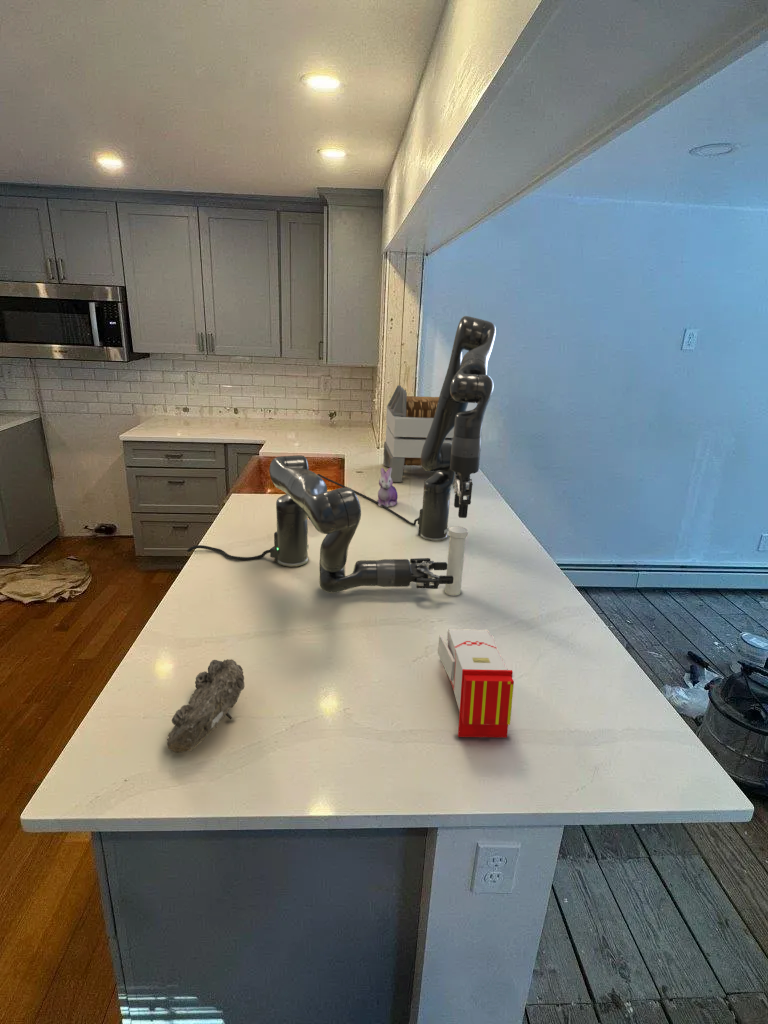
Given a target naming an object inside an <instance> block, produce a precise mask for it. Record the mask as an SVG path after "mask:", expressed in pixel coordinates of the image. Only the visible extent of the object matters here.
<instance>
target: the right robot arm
mask: <svg viewBox="0 0 768 1024" xmlns="http://www.w3.org/2000/svg"><path fill="white" fill-rule="evenodd" d="M496 328H497V327H496V325H495V324H494V323H493V322H491V321H489V320H486V319H482V318H477V317H474V316H470V315H469V316H468V315H463V316H462V317H461V318H460V320H459V322H458V324H457V327H456V331H455V336H454V340H453V345H452V349H451V353H450V358H449V363H448V367H447V370H446V372H445V373H446V374H445V377H444V379H443V383H442V386H441V389H440V394H439V396H438V397H439V400H438V404H437V408H436V412H435V415H434V418H433V422H432V425H431V428H430V430H429V433H428V435H427V438H426V441H425V443H424V446H423V448H422V452H421V465H422V466H421V467H422V469H423V470H424V471H426V472H428V473H429V472H430V473H431V472H432V473H433V472H434V473H433V474H432V475H431V476H429V477H428V478H426V479H425V480H424V482H423V493H422V496H423V497H422V506H421V508H420V509H419V516H418V517H417V518H415V519H414V520H413V522H411V521H409V520H408V519H406V518H405V517H403V516H402V515H400V514H399V513H397V512H396V511H394V510H392V509H391V508H389V507H386V506H384V505H381V506H380V508H381V507H382V508H383V509H385V510H387V511H388V512H390V513H391V514H393V515H394V516H395V517H398V518H399V519H401V520H403V521H404V522H405V523H407V524H408V525H411V526H416V525H418V530H417V535H418V536H420V538H421V539H424V540H426V541H432V542H440V541H444V540H446V539H447V538H448V533H449V528H450V527H448V525H449V517H450V516H449V514H450V504H451V494H452V493H451V491H452V489H453V491H454V492H453V493H454V499H453V500H454V502H453V506H454V508H456V509H458V514H457V515H458V518H460V519H467V517H468V510H469V505H471V503H472V492H473V486H474V483H473V480H472V478H471V475H472V474H476V473H478V472H479V470H480V462H481V461H480V460H481V451H482V431H483V423H484V418H485V413H486V410H487V408H488V405H489V403H490V400H491V398H492V395H493V392H494V388H495V387H494V380H493V379H492V377H491V376H490V375H488V365H489V364H488V363H489V359H490V358H491V353H492V351H493V347H494V344H495V339H496V333H497V330H496ZM463 351H467V352H465V354H464V355H463ZM469 404H476V406H475V407H474V408H473V409H469V410H467V408H468V405H469ZM453 428H454V436H453V441H452V444H451V443H443V442H444V439H445V438H446V436H447V434H448V433H449V432H450V431H451V430H452V429H453ZM454 473H455V479H454ZM317 475H318V476H320V477H321V478H322V479H323V480H326V481H327V482H330V483H332V484H335V485H337V486H339V487H340V488H344V487H347V486H345V485H343V484H341V483H339V482H338V481H337V482H336V481H334V480H333V479H330V478H328V477H326V476H324V475H322V474H321V473H317ZM453 481H454V483H453ZM452 486H453V488H452ZM352 490H353V491H354V492H355V494H356V495H358V496H361V497H362V498H365V499H366V500H369V501H371V502H372V503H374V504H376V505H378V504H379V503H378V502H377V501H378V500H377V501H376V500H375V499H373V498H371V497H370V496H367V495H365V494H364V493H362V492H359V491H357V490H354V489H352ZM464 497H466V499H464Z"/></svg>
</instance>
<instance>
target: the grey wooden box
mask: <svg viewBox="0 0 768 1024" xmlns="http://www.w3.org/2000/svg"><path fill="white" fill-rule="evenodd" d="M407 394H408V393H407V390H406V389H404V388H403V387H402V385H399V384H398V385H397V386H396V388H395V390H394V392H393V394H392V395H391V398H390V400H389V402H388V404H387V405H386V413H385V414H386V415H385V423H386V428H385V438H384V442H383V466H384V467H388V468H390V467H391V468H392V471H391V475H390V476H391V479H392V481H393V483H402V482H403V475H404V469H405V466H406V467H407V466H411V467H412V466H413V467H415V466H416V467H417V466H418V467H422V465H421V452H422V448H423V446H424V443H425V441H426V438H427V435H428V433H429V430H430V428H431V425H432V422H433V418H434V415H435V412H436V408H437V404H438V400H439V396H415V395H414V396H413V395H412V396H411V395H407ZM453 436H454V428H453V429H452V430H451V431H450V432H449V433H448V434H447V436H446V438H445V439H444V442H443V443H451V444H452V441H453ZM454 479H455V473H454ZM453 484H454V481H453Z"/></svg>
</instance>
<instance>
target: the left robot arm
mask: <svg viewBox="0 0 768 1024" xmlns="http://www.w3.org/2000/svg"><path fill="white" fill-rule="evenodd" d="M309 466H310V465H309V461H308V459H307V457H305V456H304V455H301V454H300V455H281V456H276V457H274V458H272V460H271V462H270V463H269V467H268V468H269V469H268V471H269V477H270V480H271V483H272V484H273V486H275V488H276V489H278V490H280V491H282V492H284V493H285V494H283V495H282V496H279V497H278V498H277V499H276V502H275V508H276V509H275V510H276V511H275V513H276V531H275V532H274V533H273V542H274V543H273V546H272V547H271V548H269V549H266V550H264V551H263V552H262V553H261V554H259V555H255V556H236V555H231V554H228V553H227V552H226V551H224V550H223V549H221V548H217V547H212V546H208V545H201V544H198V545H197V544H196V545H193V546H191V547H189V548H188V549H187V550H186V552H187V553H190V552H192V551H193V550H197V549H203V550H209V551H212V552H217V553H219V554H221V555H223V557H226V558H227V559H229V560H230V559H231V560H236V561H252V560H259V559H262V558H264V557H265V556H266V555H267V554H270V555H269V556H270V558H273V559H274V562H275V563H277V564H279V565H280V566H282V567H286V568H287V567H288V568H296V567H300V566H304V565H306V564H307V563H308V562H309V552H308V550H309V543H308V541H309V538H308V537H309V536H308V535H309V534H308V532H309V531H308V530H309V529H308V528H309V527H308V521H310V522H311V524H312V526H313V527H314V528H315V530H316V531H318V532H319V533H320V534H322V535H325V536H324V538H323V539H322V540H321V541H322V542H321V544H320V548H319V567H318V568H319V569H318V570H319V572H318V573H319V579H318V580H319V581H318V583H319V587H320V589H321V590H322V591H324V592H326V593H330V594H334V593H339V592H344V591H346V590H350V589H354V588H359V587H383V588H391V587H392V588H394V587H395V588H396V587H397V588H398V587H399V588H400V587H401V588H402V587H403V588H404V587H409V586H410V585H411V583H415V588H416V589H425V590H426V589H427V590H428V589H429V590H430V589H432V590H433V589H435V590H437V589H439V586H440V585H446V584H452V583H453V579H454V578H453V576H446V575H437V574H434V573H433V571H447V561H434V560H431V558H430V557H418V558H417V557H415V558H409V559H408V558H404V559H403V558H399V559H398V558H393V559H391V558H389V559H388V558H387V559H376V560H375V559H373V560H372V559H371V560H370V559H361V560H357V561H355V563H354V565H353V571H352V573H350V574H348V575H346V563H347V562H348V553H349V552H348V551H349V547H350V544H351V543H352V540H353V537H354V535H355V534H356V531H357V529H358V527H359V525H360V522H361V517H362V508H361V503H360V500H359V497H358V496H357V495H358V494H356V493H355V492H354V491H353V490H354V489H352V487H351V488H350V487H349V486H346V487H344V488H343V487H339V488H335V489H332V490H329V491H328V486H327V484H326V481H325V479H324V478H322V477H320V476H318V473H316V472H314V471H312V470H311V469H310V467H309ZM308 519H309V520H308Z"/></svg>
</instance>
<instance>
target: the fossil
mask: <svg viewBox="0 0 768 1024" xmlns="http://www.w3.org/2000/svg"><path fill="white" fill-rule="evenodd" d="M243 670H244V669H243V667H242V665H240V664H237V662H236V661H235V660H234V659H232V658H231V659H227V658H226V659H224V660H223V661H222V660H217V659H212V660H211V661H210V663H209V665H208V666H207V671H201V672H199V673H198V674H197V675H196V676H195V680H194V684H195V685H194V687H195V689H194V690H193V693H192V694H191V697H190V698H189V700H188V704H184V705H182V706H181V707H180V709H177V710H176V711H175V713H174V715H173V716H172V718H171V723H172V724H173V727H172V730H171V731H170V732H168V734H167V738H166V741H167V742H166V745H167V749H168V750H169V751H173V752H174V753H176V754H178V753H182V752H188V751H189V752H192V751H193V750H195V748H196V747H197V746H199V744H200V743H201V742H203V741H204V740H205V739H206V738H207V737H208V736H209V735H210V734H211V733H212V732H214V730H215V729H217V727H218V726H219V724H220V722H221V721H222V720H223V719H224V718H225V716H226V717H227V719H229V720H233V717H232V715H230V714H229V710H230V709H231V708H234V706H235V704H236V703H237V702H238V699H239V697H240V695H241V693H242V691H243V690H245V689H244V688H245V675H244V671H243Z"/></svg>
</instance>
